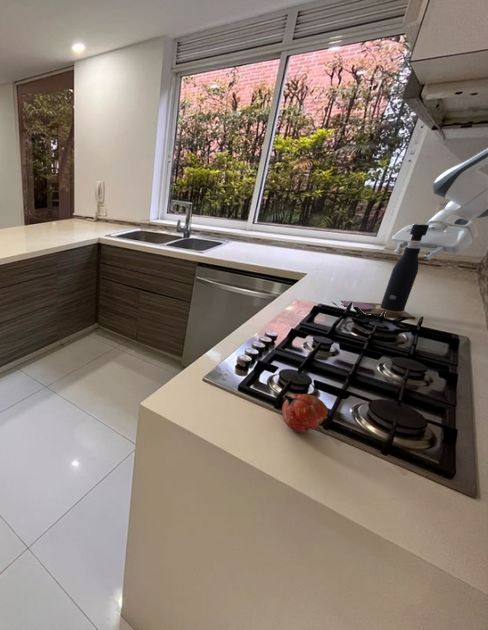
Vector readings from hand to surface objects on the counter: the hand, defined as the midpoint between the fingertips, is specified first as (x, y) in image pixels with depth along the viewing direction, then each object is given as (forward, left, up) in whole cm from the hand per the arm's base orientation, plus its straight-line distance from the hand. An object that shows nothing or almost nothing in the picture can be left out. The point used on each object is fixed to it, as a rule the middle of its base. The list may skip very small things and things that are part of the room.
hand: (410, 255), depth 118 cm
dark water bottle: (0, 0, -20) cm, 20 cm away
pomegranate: (+53, +83, -21) cm, 101 cm away
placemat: (+7, 0, -21) cm, 22 cm away
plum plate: (+11, 0, -21) cm, 24 cm away
